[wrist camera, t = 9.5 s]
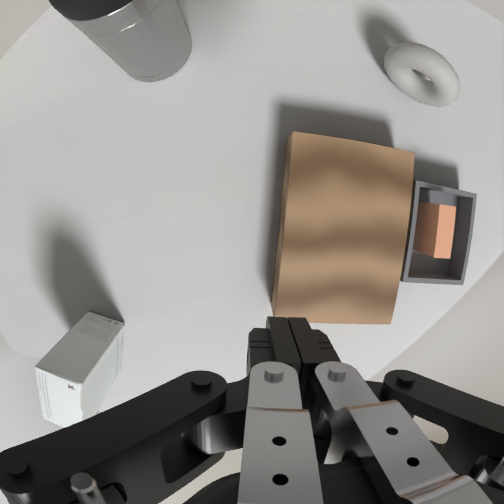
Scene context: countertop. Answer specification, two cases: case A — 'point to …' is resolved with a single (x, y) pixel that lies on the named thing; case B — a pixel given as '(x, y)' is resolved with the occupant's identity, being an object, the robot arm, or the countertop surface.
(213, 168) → the countertop surface
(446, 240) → the tile
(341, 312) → the chopping block
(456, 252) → the bin
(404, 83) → the donut
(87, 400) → the skincare box
